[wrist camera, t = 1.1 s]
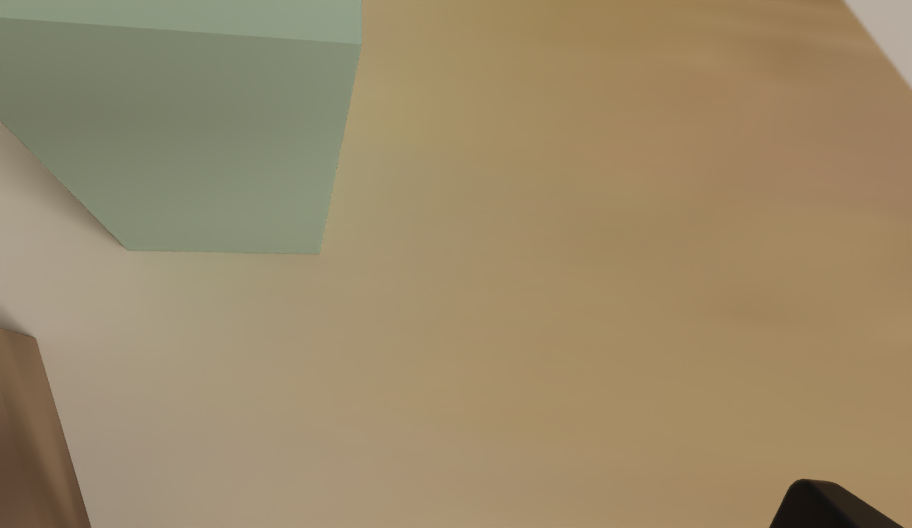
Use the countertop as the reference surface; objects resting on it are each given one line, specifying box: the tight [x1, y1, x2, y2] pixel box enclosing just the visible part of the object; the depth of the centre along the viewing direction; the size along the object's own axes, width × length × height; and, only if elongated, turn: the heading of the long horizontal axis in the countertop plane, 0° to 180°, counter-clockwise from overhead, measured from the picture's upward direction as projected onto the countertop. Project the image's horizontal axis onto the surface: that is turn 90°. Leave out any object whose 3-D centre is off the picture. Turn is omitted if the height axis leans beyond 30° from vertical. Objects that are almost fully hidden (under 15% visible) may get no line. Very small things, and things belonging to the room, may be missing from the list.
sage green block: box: [0, 0, 362, 254], centre depth 16 cm, size 5×5×13 cm
